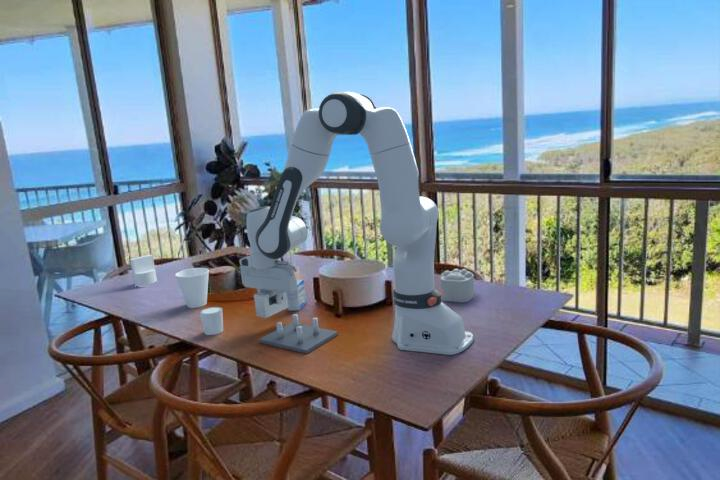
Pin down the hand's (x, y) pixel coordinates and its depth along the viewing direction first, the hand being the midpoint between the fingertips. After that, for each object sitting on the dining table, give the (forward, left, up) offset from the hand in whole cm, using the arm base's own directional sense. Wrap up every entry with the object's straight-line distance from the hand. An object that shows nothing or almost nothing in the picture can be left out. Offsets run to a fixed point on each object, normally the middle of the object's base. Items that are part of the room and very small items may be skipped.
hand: (271, 302), depth 161 cm
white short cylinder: (+15, +11, -8) cm, 21 cm away
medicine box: (+5, -17, -8) cm, 20 cm away
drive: (0, 0, -3) cm, 3 cm away
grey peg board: (-14, +4, -8) cm, 16 cm away
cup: (+42, -4, -8) cm, 43 cm away
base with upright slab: (+87, -13, -8) cm, 89 cm away
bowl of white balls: (-41, -48, -8) cm, 63 cm away
